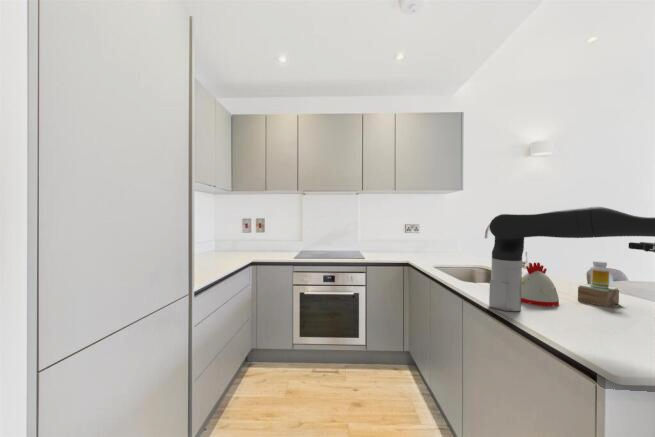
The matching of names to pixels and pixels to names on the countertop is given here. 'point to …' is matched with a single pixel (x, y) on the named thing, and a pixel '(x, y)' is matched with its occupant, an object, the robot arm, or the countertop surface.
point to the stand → (598, 295)
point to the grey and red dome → (538, 287)
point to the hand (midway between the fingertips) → (634, 245)
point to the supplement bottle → (599, 275)
